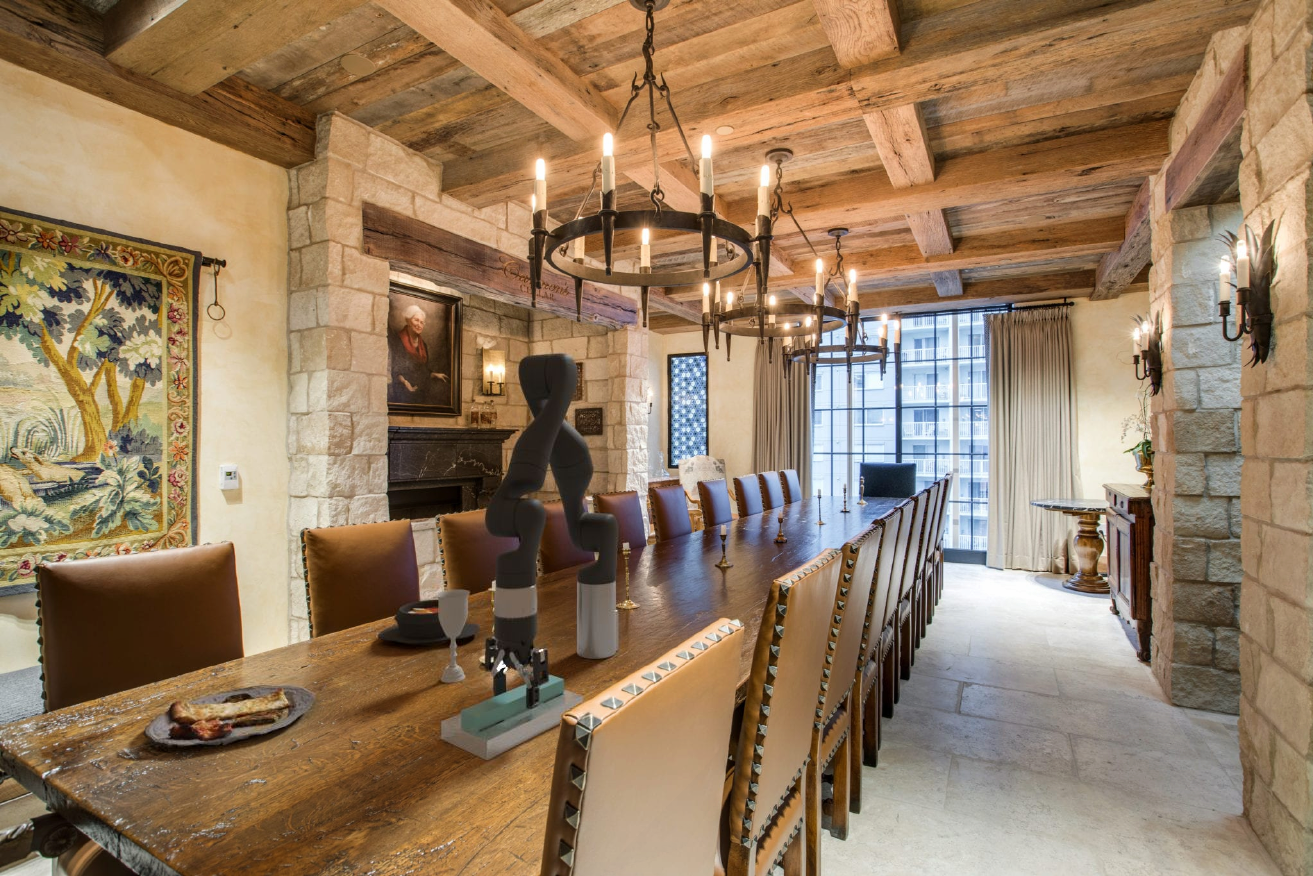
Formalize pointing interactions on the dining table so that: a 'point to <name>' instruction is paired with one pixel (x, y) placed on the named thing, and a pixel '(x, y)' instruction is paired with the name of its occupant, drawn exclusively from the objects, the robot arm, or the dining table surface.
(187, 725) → the food plate
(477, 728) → the strip bar
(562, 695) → the plate
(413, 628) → the casserole
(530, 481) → the robot arm
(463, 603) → the chalice
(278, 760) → the dining table surface
